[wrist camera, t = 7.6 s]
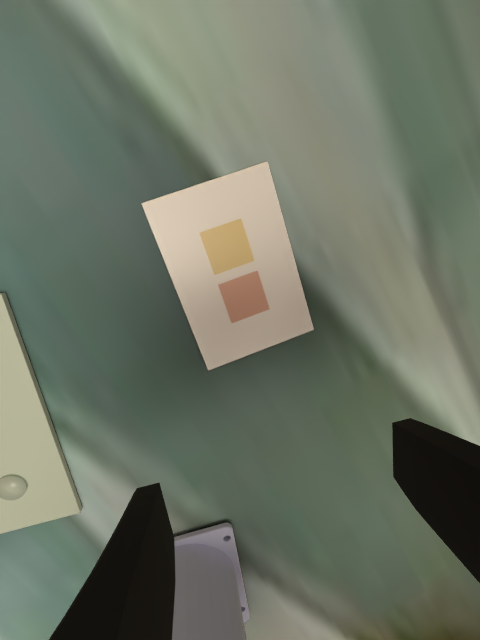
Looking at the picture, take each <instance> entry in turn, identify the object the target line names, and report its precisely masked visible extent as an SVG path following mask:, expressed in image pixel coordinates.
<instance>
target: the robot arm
mask: <svg viewBox="0 0 480 640" xmlns="http://www.w3.org/2000/svg"><path fill="white" fill-rule="evenodd" d="M392 428H393V476H394V478H395V480H396V481H397V483H398V484H399V486H400V487H401V489H402V490H403V492H404V493H405V495H406V496H407V498H408V499H409V500H410V502H411V503H412V505H413V506H414V507H415V509H416V510H417V511H418V512H419V514H420V515H421V516H422V517H423V518H424V520H425V521H426V522H427V523H428V524H429V525H430V527H431V528H432V529H433V530H434V531H435V532H436V533H437V535H438V536H439V537H440V538H441V539H442V540H443V542H444V543H445V544H446V545H447V546H448V547H449V548H450V550H451V551H452V552H453V553H454V554H455V555H456V556H457V558H458V559H459V560H460V561H461V562H462V563H463V564H464V566H465V567H466V568H467V569H468V570H469V571H470V572H471V574H472V575H473V576H474V577H475V578H476V579H477V581H478V582H479V583H480V446H479V445H476V444H474V443H471V442H469V441H466V440H464V439H461V438H459V437H457V436H454V435H452V434H449V433H447V432H444V431H442V430H440V429H437V428H435V427H432V426H430V425H427V424H424V423H422V422H419V421H416V420H414V419H411V418H409V419H406V420H402V421H398V422H394V423H392ZM228 535H229V536H228ZM249 618H250V613H249V608H248V603H247V598H246V593H245V588H244V583H243V578H242V573H241V568H240V563H239V558H238V553H237V548H236V543H235V538H234V533H233V528H232V525H231V524H230V523H222V524H219V525H215V526H212V527H208V528H205V529H201V530H198V531H194V532H190V533H187V534H183V535H180V536H176V537H174V536H173V532H172V528H171V525H170V521H169V517H168V513H167V510H166V506H165V502H164V498H163V495H162V491H161V487H160V483H156V484H152V485H148V486H144V487H140V488H137V489H136V491H135V492H134V494H133V496H132V498H131V500H130V502H129V504H128V506H127V508H126V510H125V512H124V514H123V516H122V518H121V519H120V521H119V523H118V525H117V527H116V529H115V531H114V533H113V534H112V536H111V538H110V540H109V542H108V544H107V545H106V547H105V549H104V551H103V552H102V554H101V556H100V558H99V560H98V561H97V563H96V565H95V567H94V568H93V570H92V572H91V574H90V575H89V577H88V579H87V580H86V582H85V583H84V585H83V587H82V588H81V590H80V592H79V593H78V595H77V596H76V598H75V600H74V601H73V603H72V605H71V606H70V608H69V609H68V611H67V613H66V614H65V616H64V617H63V619H62V621H61V622H60V624H59V625H58V627H57V628H56V630H55V631H54V633H53V634H52V636H51V637H50V639H49V640H246V634H245V628H244V623H245V622H247V621H248V620H249Z"/></svg>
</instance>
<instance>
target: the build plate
mask: <svg viewBox="0 0 480 640" xmlns="http://www.w3.org/2000/svg"><path fill="white" fill-rule="evenodd" d="M81 510H82V505H81V502H80V500H79V497H78V494H77V491H76V488H75V486H74V483H73V480H72V477H71V474H70V472H69V469H68V466H67V463H66V461H65V458H64V455H63V452H62V449H61V447H60V444H59V441H58V438H57V435H56V433H55V430H54V427H53V424H52V421H51V419H50V416H49V413H48V410H47V407H46V405H45V402H44V399H43V396H42V393H41V391H40V388H39V385H38V382H37V379H36V377H35V374H34V371H33V368H32V365H31V363H30V360H29V357H28V354H27V352H26V349H25V346H24V343H23V340H22V338H21V335H20V332H19V329H18V326H17V324H16V321H15V318H14V315H13V312H12V310H11V307H10V304H9V301H8V298H7V296H6V293H0V534H1V533H4V532H8V531H12V530H16V529H20V528H24V527H28V526H31V525H35V524H39V523H43V522H47V521H51V520H54V519H58V518H62V517H66V516H70V515H74V514H77V513H80V512H81Z"/></svg>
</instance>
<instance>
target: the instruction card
mask: <svg viewBox="0 0 480 640" xmlns="http://www.w3.org/2000/svg"><path fill="white" fill-rule="evenodd" d="M141 204H142V206H143V209H144V211H145V214H146V216H147V219H148V221H149V224H150V226H151V229H152V231H153V234H154V236H155V239H156V241H157V244H158V246H159V249H160V251H161V254H162V256H163V259H164V261H165V264H166V266H167V269H168V271H169V274H170V276H171V279H172V281H173V284H174V286H175V289H176V291H177V294H178V296H179V299H180V301H181V304H182V306H183V309H184V311H185V314H186V316H187V319H188V321H189V324H190V326H191V329H192V331H193V334H194V336H195V339H196V341H197V344H198V346H199V349H200V351H201V354H202V356H203V359H204V361H205V364H206V366H207V369H208V371H209V370H211V369H214V368H216V367H219V366H222V365H224V364H227V363H229V362H232V361H234V360H237V359H240V358H242V357H245V356H247V355H250V354H252V353H255V352H258V351H260V350H263V349H265V348H268V347H271V346H273V345H276V344H278V343H281V342H283V341H286V340H289V339H291V338H294V337H296V336H299V335H301V334H304V333H307V332H309V331H312V330H314V328H313V325H312V321H311V317H310V314H309V310H308V306H307V303H306V299H305V296H304V292H303V288H302V285H301V281H300V277H299V274H298V270H297V267H296V263H295V259H294V256H293V252H292V248H291V245H290V241H289V238H288V234H287V230H286V227H285V223H284V219H283V216H282V212H281V209H280V205H279V201H278V198H277V194H276V190H275V187H274V183H273V180H272V176H271V172H270V169H269V165H268V161H267V162H264V163H261V164H258V165H255V166H252V167H249V168H246V169H243V170H240V171H237V172H234V173H231V174H228V175H225V176H222V177H219V178H216V179H213V180H210V181H207V182H204V183H201V184H198V185H195V186H192V187H189V188H186V189H183V190H180V191H177V192H174V193H171V194H168V195H165V196H162V197H159V198H156V199H153V200H150V201H147V202H144V203H141Z"/></svg>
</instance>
